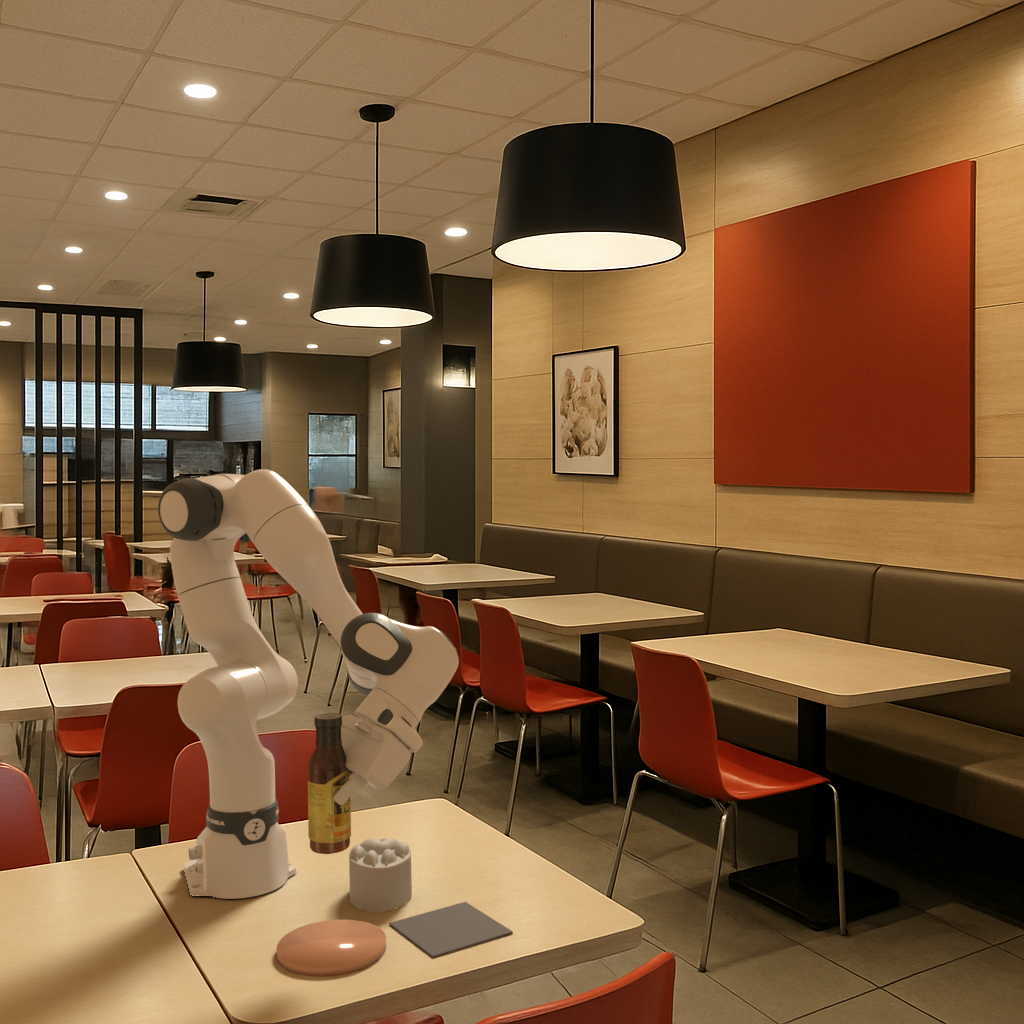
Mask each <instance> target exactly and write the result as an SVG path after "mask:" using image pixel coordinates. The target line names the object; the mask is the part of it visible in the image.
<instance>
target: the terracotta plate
mask: <svg viewBox="0 0 1024 1024" xmlns="http://www.w3.org/2000/svg"><path fill="white" fill-rule="evenodd" d="M386 948H387V936H386V934H385V931H383V929H381V927H379V926H378V925H375V924H372V923H370V922H367V921H362V920H355V919H329V920H328V919H327V920H322V921H321V920H320V921H315V922H313V923H309V924H305V925H302V926H300V927H297V928H295V929H292V930H291V931H289V932H288V933H285V935H283V937H281V938H280V940H279V941H278V943H277V945H276V960H277V963H280V964H279V965H280V966H281V967H282V968H283V967H284V968H283V969H285V968H286V970H287V971H289V970H290V971H289V972H291V971H292V973H294V972H295V973H294V974H299V975H304V976H311V977H312V976H314V977H315V976H316V977H326V976H336V975H337V976H338V975H344V974H348V973H351V972H356V971H359V970H362V969H364V968H366V967H369V966H371V965H373V964H374V963H375V962H377V961H378V960H379V959H381V958H382V957H383V955H384V954H385V952H386V950H387V949H386Z"/></svg>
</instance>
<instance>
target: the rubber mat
mask: <svg viewBox="0 0 1024 1024" xmlns="http://www.w3.org/2000/svg"><path fill="white" fill-rule="evenodd" d="M389 926H390V927H391V928H393V929H394V930H395V931H397V932H398V933H399V934H401V935H402V936H404V937H405V938H406V939H408V940H409V941H410V942H411V943H413V944H414V945H415V946H417V947H418V948H419V949H420V950H421V951H423V952H425V953H426V954H427V955H428V956H430V957H431V958H433V959H434V958H438V957H440V956H444V955H449V954H450V953H454V952H456V951H461V950H464V949H467V948H470V947H473V946H476V945H480V944H483V943H487V942H490V941H492V940H496V939H499V938H503V937H505V936H509V935H512V934H513V933H514V932H513V930H511V929H510V928H508V927H506V926H505V925H503V924H502V923H500V922H498V921H497V920H496V919H494V918H492V917H490V916H489V915H487V914H485V913H484V912H483V911H481V910H479V909H478V908H476V907H475V906H473V905H472V904H470V903H469V902H468V901H463V902H459V903H455V904H452V905H448V906H445V907H440V908H438V909H434V910H430V911H426V912H423V913H419V914H416V915H411V916H409V917H406V918H402V919H398V920H395V921H390V922H389Z"/></svg>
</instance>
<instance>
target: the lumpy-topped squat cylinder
mask: <svg viewBox="0 0 1024 1024" xmlns="http://www.w3.org/2000/svg"><path fill="white" fill-rule="evenodd" d="M348 854H349V855H348V863H349V864H348V867H349V868H348V869H349V873H348V874H349V902H350V903H352V904H351V905H352V906H354V907H355V908H357V909H359V910H361V911H365V912H369V911H370V913H385V912H384V911H387V912H390V911H389V910H391V911H394V910H396V909H395V908H397V907H399V908H401V907H403V906H404V905H406V904H407V903H408V902H410V900H412V895H413V890H412V889H413V886H412V884H413V883H412V881H413V880H412V879H413V878H412V851H411V847H410V846H409V844H408V843H407V842H405V841H402V840H397V839H396V838H394V837H385V838H368V839H365V840H364V841H362V842H360V843H358V844H355V845H353V846H352V847H351V848H350V850H349V853H348ZM407 901H408V902H407ZM406 902H407V903H406ZM405 903H406V904H405ZM403 904H404V905H403ZM402 905H403V906H402ZM400 906H401V907H400ZM393 909H394V910H393ZM397 909H398V908H397Z"/></svg>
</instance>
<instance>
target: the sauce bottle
mask: <svg viewBox="0 0 1024 1024" xmlns="http://www.w3.org/2000/svg"><path fill="white" fill-rule="evenodd" d="M342 717H343V715H342V714H340V713H338V712H327V713H320V714H316V715H315V716H314V727H315V742H314V743H315V748H314V750H313V752H312V753H311V754H310V757H309V760H308V767H307V768H308V778H307V812H308V813H307V816H308V821H307V822H308V823H307V824H308V825H307V827H308V839H309V849H310V850H311V851H312V852H314V853H316V854H319V855H320V854H322V855H333V854H337V853H341V852H344V851H345V850H347V849H348V848H350V843H351V837H352V812H351V811H352V809H351V808H352V807H351V805H352V800H351V799H352V796H351V797H349V798H348V800H347V801H346V802H345V804H344V805H339V804H338V803H336V802H335V801H334V800H333V799H332V798H331V796H332V794H333V793H334V792H335V790H336V789H337V788H341V787H342V786H343V785H344V784H345V783H346V782H348V781H349V779H348V778H349V777H350V770H348V769H347V768H346V754H345V752H344V749H343V746H342V740H341V725H342Z"/></svg>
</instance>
